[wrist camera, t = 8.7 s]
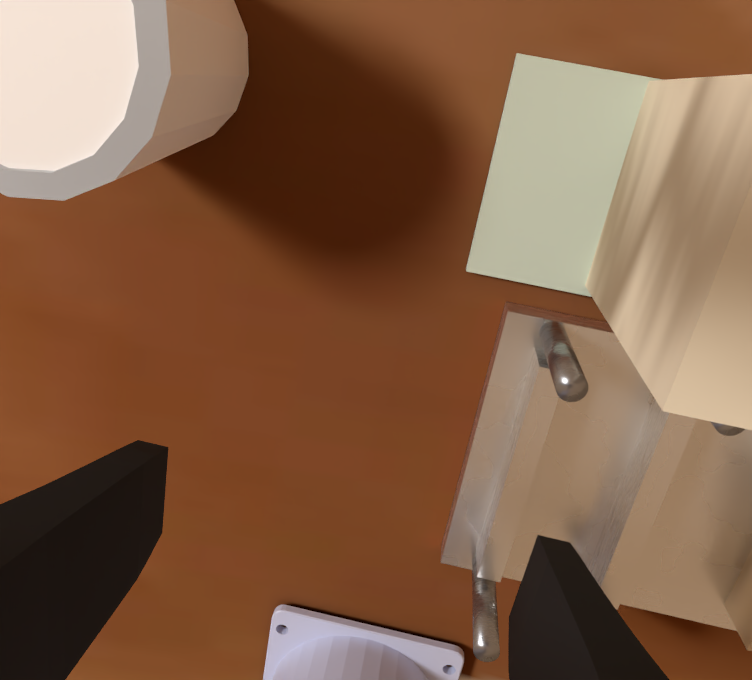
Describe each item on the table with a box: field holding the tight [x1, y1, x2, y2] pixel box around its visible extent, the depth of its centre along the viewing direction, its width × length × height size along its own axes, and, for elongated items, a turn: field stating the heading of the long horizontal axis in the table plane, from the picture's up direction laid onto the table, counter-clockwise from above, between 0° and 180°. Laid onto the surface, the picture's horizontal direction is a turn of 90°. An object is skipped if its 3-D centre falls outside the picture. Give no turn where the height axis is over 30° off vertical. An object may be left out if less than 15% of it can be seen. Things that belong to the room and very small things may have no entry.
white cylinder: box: [0, 0, 249, 201], centre depth 16 cm, size 7×7×7 cm
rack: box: [441, 302, 752, 662], centre depth 20 cm, size 10×16×5 cm, turn 80°
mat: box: [466, 53, 661, 297], centre depth 19 cm, size 6×10×1 cm, turn 80°
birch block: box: [585, 74, 752, 430], centre depth 15 cm, size 6×3×8 cm, turn 170°
